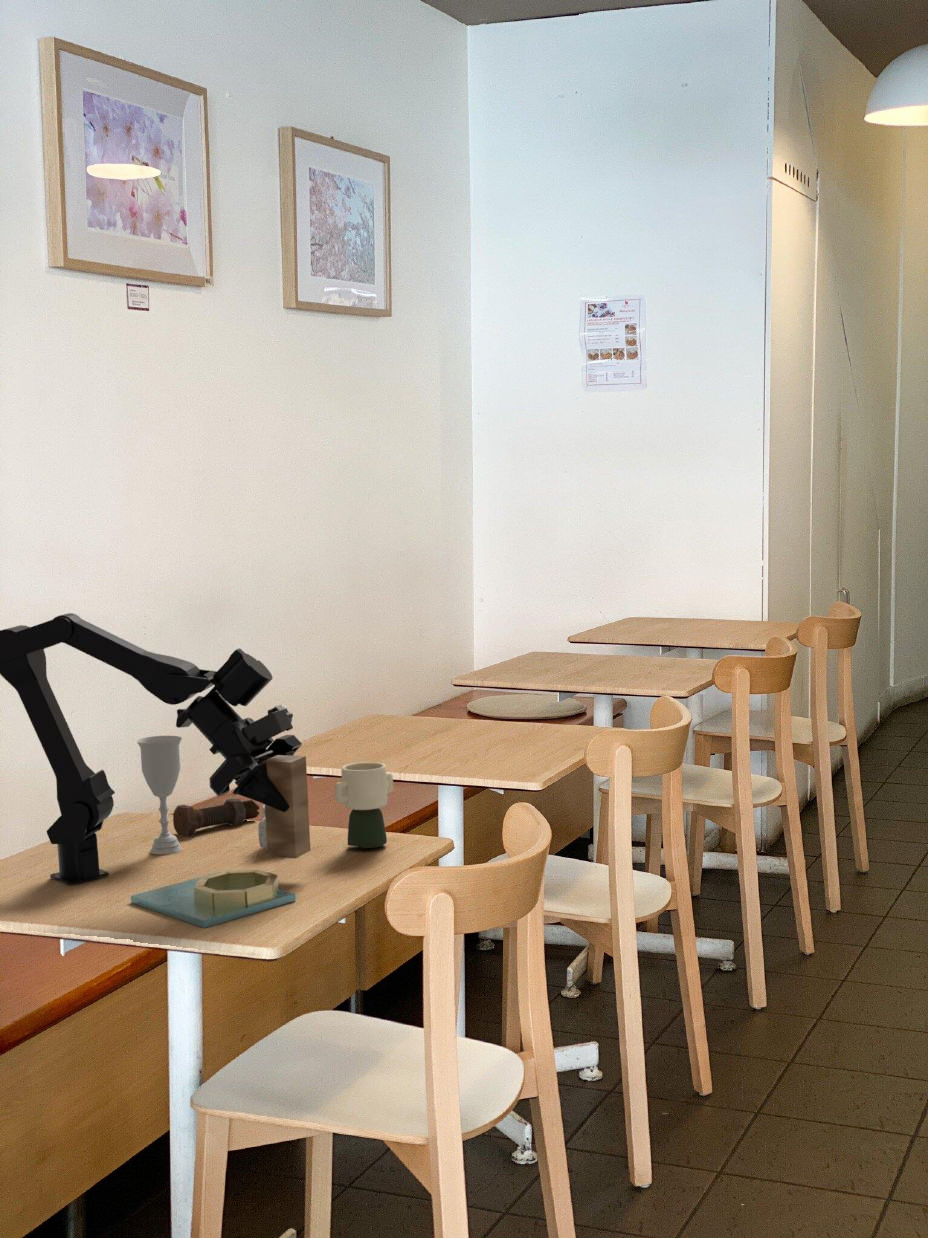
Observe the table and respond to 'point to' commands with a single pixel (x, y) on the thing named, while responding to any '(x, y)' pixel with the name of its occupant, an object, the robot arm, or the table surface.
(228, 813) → the bolt
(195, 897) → the socket plate
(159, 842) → the chalice
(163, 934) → the table surface
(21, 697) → the robot arm
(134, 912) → the table surface
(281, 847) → the peg
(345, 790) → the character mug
